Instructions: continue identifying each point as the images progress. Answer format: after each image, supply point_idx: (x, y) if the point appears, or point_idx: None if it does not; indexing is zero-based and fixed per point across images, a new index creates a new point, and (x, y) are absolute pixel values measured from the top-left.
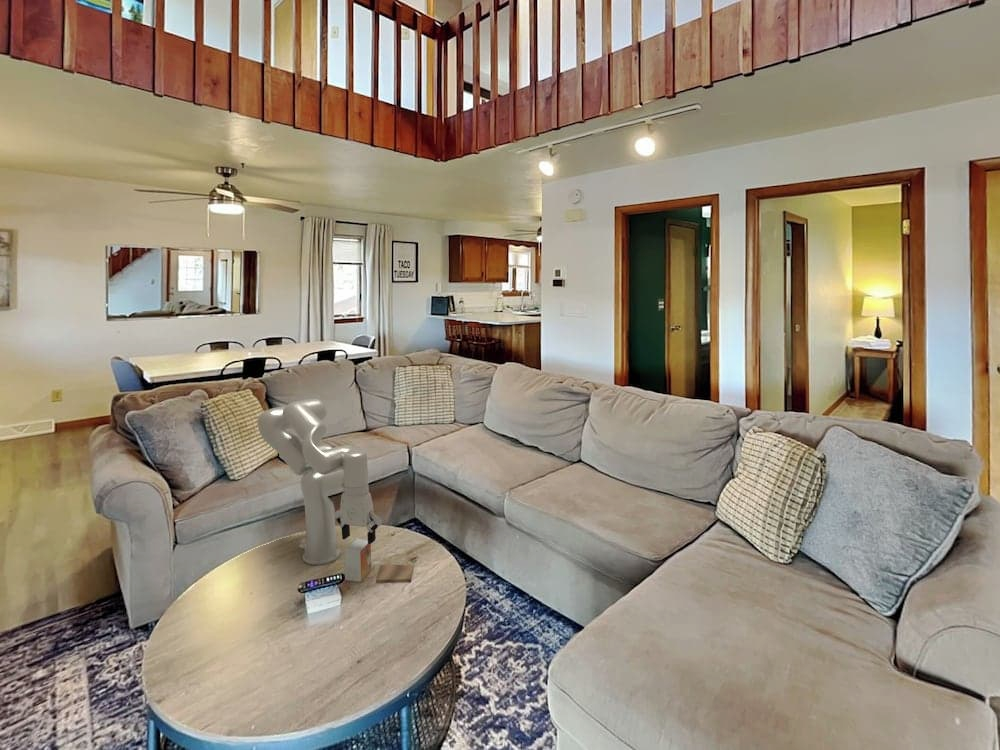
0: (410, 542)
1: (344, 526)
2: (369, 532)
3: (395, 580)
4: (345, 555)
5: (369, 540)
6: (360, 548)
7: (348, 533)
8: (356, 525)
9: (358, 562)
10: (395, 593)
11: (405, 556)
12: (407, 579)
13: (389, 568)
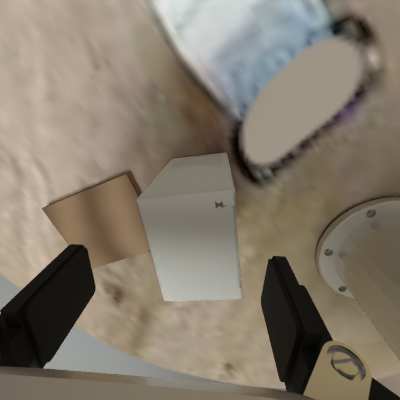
0: (169, 348)
1: (305, 358)
2: (3, 316)
3: (78, 193)
4: (225, 178)
5: (54, 260)
6: (156, 228)
7: (267, 309)
8: (51, 386)
9: (162, 177)
10: (42, 140)
11: (141, 299)
12: (49, 205)
13: (130, 238)
